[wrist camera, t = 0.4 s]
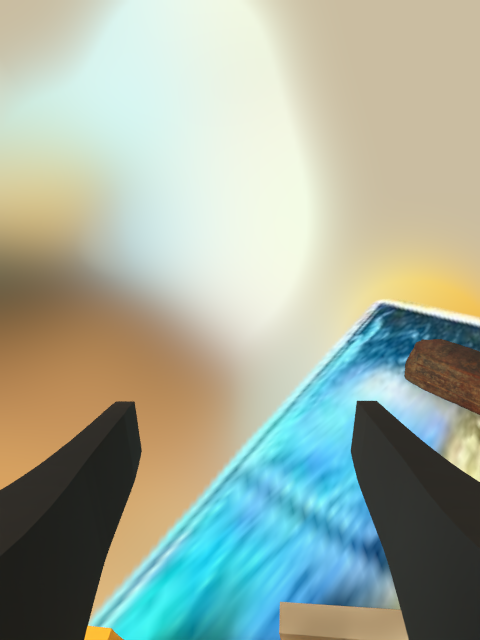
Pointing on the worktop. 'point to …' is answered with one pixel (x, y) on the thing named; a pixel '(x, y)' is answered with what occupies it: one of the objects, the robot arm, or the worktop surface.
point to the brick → (446, 371)
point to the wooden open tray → (339, 623)
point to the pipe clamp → (101, 634)
